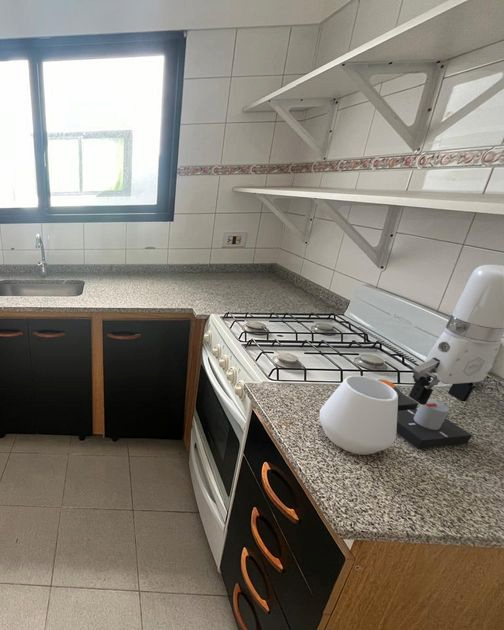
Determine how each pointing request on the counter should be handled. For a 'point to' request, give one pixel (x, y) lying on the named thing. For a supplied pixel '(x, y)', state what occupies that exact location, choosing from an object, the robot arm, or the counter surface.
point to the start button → (388, 383)
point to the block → (405, 401)
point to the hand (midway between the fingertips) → (436, 399)
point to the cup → (361, 415)
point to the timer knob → (431, 414)
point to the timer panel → (429, 432)
